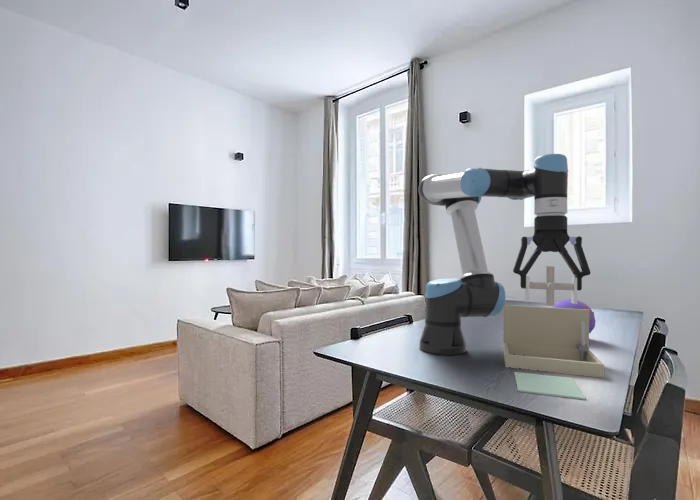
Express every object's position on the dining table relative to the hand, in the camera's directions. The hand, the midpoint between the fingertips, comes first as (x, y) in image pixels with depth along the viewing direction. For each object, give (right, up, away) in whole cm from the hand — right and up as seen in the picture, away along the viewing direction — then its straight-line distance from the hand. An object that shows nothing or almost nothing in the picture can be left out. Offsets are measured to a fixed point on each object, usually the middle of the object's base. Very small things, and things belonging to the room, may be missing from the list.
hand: (550, 302), depth 98 cm
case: (+7, -20, +14) cm, 26 cm away
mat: (-3, -20, -3) cm, 21 cm away
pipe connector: (0, -1, 0) cm, 1 cm away
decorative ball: (+32, -20, +47) cm, 60 cm away
